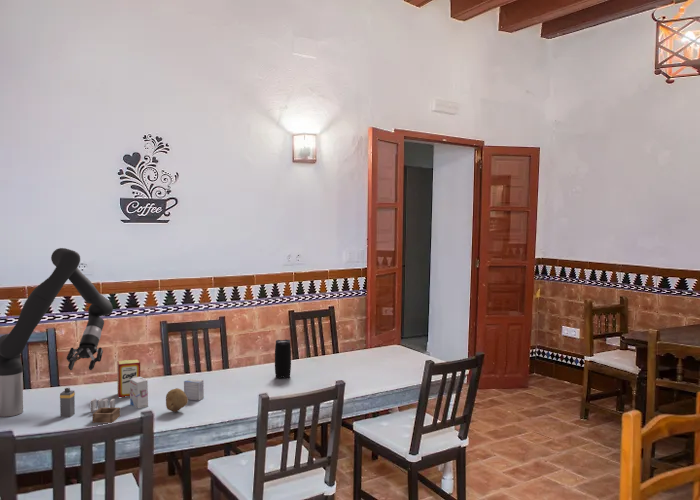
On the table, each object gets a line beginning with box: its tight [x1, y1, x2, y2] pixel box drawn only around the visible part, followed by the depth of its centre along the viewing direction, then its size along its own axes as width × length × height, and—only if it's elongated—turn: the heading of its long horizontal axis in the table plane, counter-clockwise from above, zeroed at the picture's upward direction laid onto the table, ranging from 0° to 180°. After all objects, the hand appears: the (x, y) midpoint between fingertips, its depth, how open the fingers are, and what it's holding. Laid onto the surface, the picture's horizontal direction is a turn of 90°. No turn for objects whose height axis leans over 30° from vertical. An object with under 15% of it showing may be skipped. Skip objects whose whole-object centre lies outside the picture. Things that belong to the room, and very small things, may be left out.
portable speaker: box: [274, 339, 292, 379], centre depth 292 cm, size 9×9×20 cm
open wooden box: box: [92, 407, 121, 424], centre depth 225 cm, size 8×8×4 cm
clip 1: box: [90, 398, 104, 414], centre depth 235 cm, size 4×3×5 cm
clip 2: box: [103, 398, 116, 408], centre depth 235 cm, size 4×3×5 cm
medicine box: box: [183, 378, 205, 401], centre depth 253 cm, size 8×4×9 cm, turn 74°
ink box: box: [129, 376, 149, 409], centre depth 243 cm, size 9×5×12 cm, turn 45°
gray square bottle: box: [59, 387, 76, 418], centre depth 229 cm, size 4×4×12 cm
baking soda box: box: [116, 359, 141, 398], centre depth 259 cm, size 10×6×16 cm
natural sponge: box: [165, 387, 189, 413], centre depth 235 cm, size 9×9×10 cm
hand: (80, 369), depth 241 cm, fingers open, 8 cm apart
